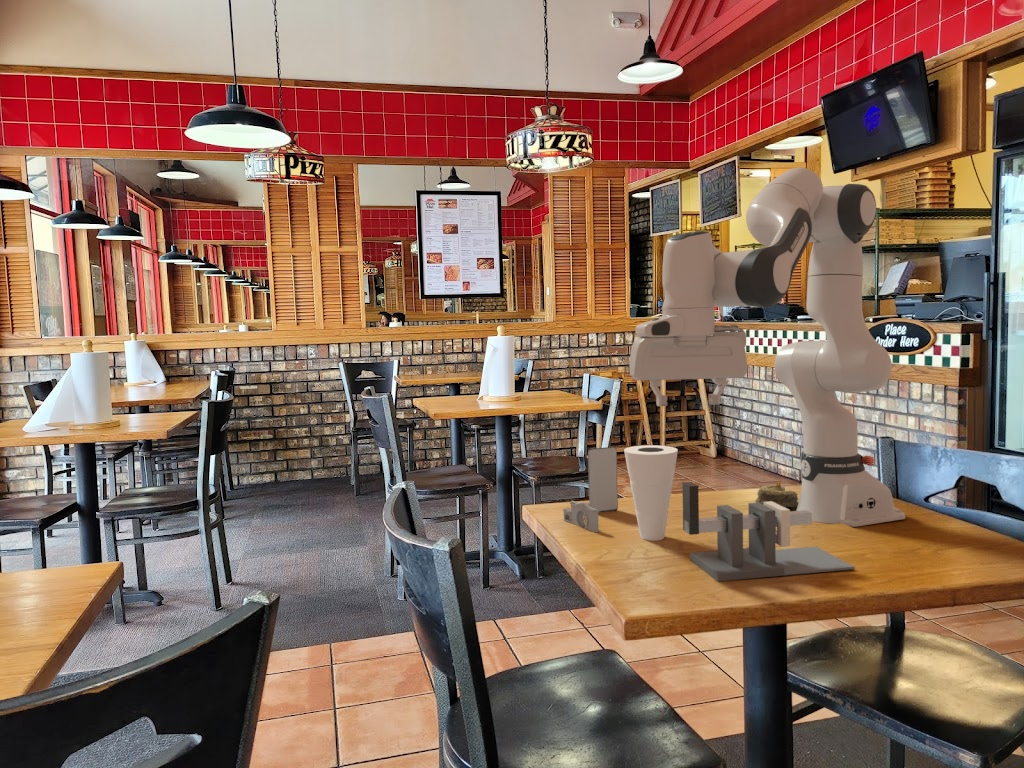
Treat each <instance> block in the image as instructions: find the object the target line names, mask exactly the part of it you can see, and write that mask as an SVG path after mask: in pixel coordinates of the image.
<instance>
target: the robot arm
mask: <svg viewBox="0 0 1024 768" xmlns="http://www.w3.org/2000/svg"><path fill="white" fill-rule="evenodd" d="M823 185H824V184H823V182H822V180H821V177H819V175H818V174H817V173H816V172H815V171H813V170H812V169H809V168H805V167H793V168H790V169H788V170H786V171H784V172H782V173H781V174H779V175H777V176H776V177H775V178H773V180H771V181H770V182H768V184H766V185H765V186H764V187H763V188H762V189H761V190H760V191H759V192H758V193H757V194H756V196H755V197H754V198H753V199H752V200H751V202H750V203H749V205H748V207H747V210H746V214H745V221H746V226H747V230H748V231H749V234H750V235H751V236H752V237H753V238H754V239H755V240H756V242H758V243H759V244H761V245H763V246H765V247H760V248H756V249H749V250H748V249H747V250H738V251H728V252H727V251H726V252H723V250H720V249H719V248H717V247H716V246H715V245H714V244H713V239H712V235H711V233H710V232H709V231H706V230H696V231H695V230H694V231H688V232H682V233H676V234H673V235H671V236H670V237H669V238H667V239H666V242H665V246H664V250H663V257H662V272H661V274H662V275H661V276H662V277H661V278H662V281H661V282H662V283H661V285H662V288H663V293H664V300H663V303H662V306H661V307H662V314H661V316H660V317H657V318H656V317H654V318H652V319H650V320H648V321H645V322H642V323H639V324H637V325H636V326H635V335H636V336H637V337H638V338H636V339H635V340H634V341H633V343H632V345H631V349H630V355H629V375H630V377H631V378H632V379H633V380H635V381H649V387H650V389H651V390H652V392H653V393H654V395H655V399H656V400H655V402H656V403H655V404H656V406H657V407H667V406H668V402H667V401H668V395H664V394H663V393H662V392H661V390H660V388H659V387H662V381H664V380H665V381H669V380H671V381H672V380H675V381H676V380H707V379H708V380H714V385H716V387H715V389H714V391H713V392H712V393H708V405H711V406H712V405H713V406H720V404H721V395H722V393H723V392H724V390H725V389H726V387H727V384H728V382H727V381H728V379H743V378H744V377H745V376H746V374H747V372H748V360H747V352H746V345H747V334H746V331H745V330H744V328H742V327H739V325H736V324H731V325H723V324H722V325H721V324H719V325H718V324H715V318H716V317H715V315H716V313H715V308H719V307H723V308H728V307H729V308H732V307H753V308H755V307H756V308H772V307H775V306H776V305H777V304H778V303H779V302H780V301H781V300H782V299H783V298H784V297H785V296H786V295H787V293H788V290H789V288H790V286H791V282H792V277H793V274H794V272H795V269H796V268H797V266H798V263H799V262H800V259H801V258H802V256H803V254H804V252H805V250H806V249H807V246H808V243H812V246H811V251H810V254H809V255H810V256H809V260H808V261H809V263H808V267H807V269H808V271H807V284H806V285H807V287H806V288H807V290H806V304H805V305H806V306H805V307H806V308H805V309H806V313H807V314H808V315H809V317H810V318H811V319H812V320H814V321H816V322H818V324H820V326H822V328H823V330H824V332H825V337H826V340H801V341H796V342H792V343H788V344H786V345H783V346H781V348H780V349H779V351H778V352H777V354H776V357H775V359H774V371H775V374H776V377H777V379H778V380H779V381H780V383H782V384H783V385H784V386H785V387H786V388H787V389H788V390H789V392H790V393H791V395H792V397H793V398H794V400H795V402H796V404H797V406H798V408H799V412H800V416H801V421H802V436H803V437H802V439H803V440H802V441H803V442H802V444H803V445H802V446H803V448H802V449H803V451H802V452H800V453H801V458H800V461H801V462H800V473H801V477H802V480H801V487H800V493H799V498H798V502H799V503H798V506H796V507H797V508H796V510H795V511H802V510H806V511H809V512H811V513H812V522H815V523H816V522H817V523H823V524H831V525H832V524H833V525H836V524H843V525H846V526H848V527H854V528H855V527H862V526H868V525H874V524H876V525H877V524H881V523H886V522H887V523H888V522H894V521H899V520H905V519H906V514H905V512H904V511H903V510H901V509H899V508H897V507H895V506H894V500H893V499H894V498H893V495H892V492H891V490H890V488H889V487H888V486H887V485H886V484H884V483H883V482H882V481H880V480H879V479H877V478H876V477H875V476H874V475H872V474H871V473H869V472H868V471H867V470H866V467H865V465H867V466H869V467H872V466H875V465H874V464H875V463H876V459H875V458H874V456H871V455H870V456H869V455H864V456H863V455H861V454H860V453H858V441H859V440H858V430H859V429H858V428H859V427H858V423H859V422H858V421H857V418H856V416H855V415H854V413H852V412H851V411H850V410H848V409H846V408H845V407H844V406H843V405H842V404H841V402H840V400H839V399H838V396H837V394H836V392H843V393H844V392H845V393H863V392H865V393H866V392H871V391H877V390H880V389H881V388H883V387H884V386H885V385H886V384H887V382H888V381H889V380H890V377H891V375H892V369H893V363H892V359H891V356H890V354H889V352H888V351H887V349H886V348H885V347H884V346H883V345H881V344H880V343H879V342H878V341H876V339H875V338H874V337H873V336H872V334H871V332H870V330H869V329H868V326H867V324H866V322H865V321H866V320H865V317H864V313H863V280H864V279H863V277H864V260H863V259H864V258H863V247H862V240H863V238H864V236H865V235H867V234H868V232H869V231H870V229H871V228H872V227H873V224H874V223H875V221H876V217H877V201H876V198H875V197H876V196H875V195H874V193H873V191H872V190H871V189H870V188H869V187H868V186H867V185H865V184H859V183H847V184H845V185H827V186H823Z"/></svg>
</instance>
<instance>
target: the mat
mask: <svg viewBox="0 0 1024 768" xmlns="http://www.w3.org/2000/svg"><path fill="white" fill-rule="evenodd" d="M776 564H778V565H780V566H781V567H783V568H784V575H783V576H791V575H802V574H812V573H813V574H815V573H823V572H824V573H826V572H827V573H828V572H835V571H837V572H838V571H847V570H855V566H854V565H851V564H850V563H848V562H846V561H844V560H842V559H841V558H838V557H837V556H835V555H834V554H831V553H829V552H828V551H825V550H824V549H822V548H820V547H818V546H809V547H794V548H783V549H781V548H780V549H776Z"/></svg>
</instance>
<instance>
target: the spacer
mask: <svg viewBox="0 0 1024 768" xmlns="http://www.w3.org/2000/svg"><path fill="white" fill-rule="evenodd" d="M764 505H765V506H767V507H769V508H771V509H773V510H775V516H776V517H777V527H775V545H776V544H777V545H778V546H779V547H781V548H782V547H790V546H791V526H790V511H791V510H790V509H789V508H788V507H783V506H781V505H779V504H776V503H774V502H772V501H769V502H764Z"/></svg>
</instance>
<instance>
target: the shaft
mask: <svg viewBox="0 0 1024 768" xmlns="http://www.w3.org/2000/svg"><path fill="white" fill-rule="evenodd" d="M699 502H700V501H699V485H697V484H696V483H694V482H692V481H686V482H685V481H684V482H683V481H682V530H683V531H684V532H686V533H687V534H688V535H690V536H691V535H692V536H695V535H699V534H702V533H715V532H716V533H717V532H718V531H728V518H726V517H717V516H715V517H702V518H701V517H699V516H700V515H699V513H700V510H699ZM812 524H813V521H812V513H811V512H809V511H806V510H802V511H796V510H793V511H792V510H790V527H791V526H804V525H812ZM775 527H776V528H777V517H776V516H775ZM756 528H760V516H759V515H757V514H750V515H749V514H743V530H749V529H756Z"/></svg>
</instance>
